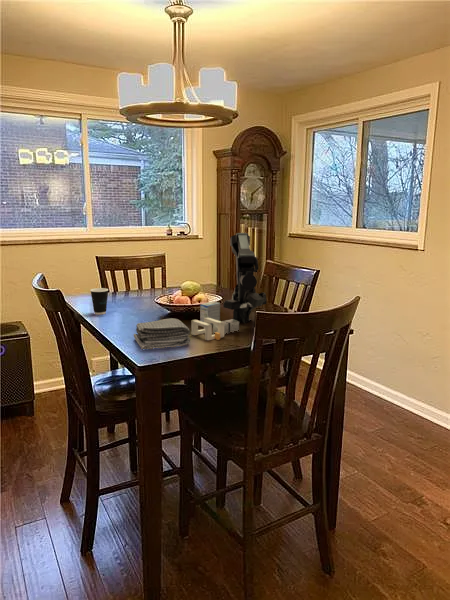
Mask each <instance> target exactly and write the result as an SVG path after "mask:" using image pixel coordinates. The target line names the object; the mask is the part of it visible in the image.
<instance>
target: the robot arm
mask: <svg viewBox="0 0 450 600" xmlns="http://www.w3.org/2000/svg"><path fill="white" fill-rule="evenodd" d="M229 240H230V241H229V245H230V247H231V252H232V253H233V254H234V256H235V267H236V269H235V270H236V285H235V287H234V290H233V293H232V296H231V298H230V299H226V300H224V301H223V308H224V309H228V310H233V312H232V314H233V315H232V317H233V318H232V319H233V320H237V321H239V323H240V322H242V323H243V324H247V323H248V322H251V321H250V320H252V318H250V315H251V312H252V311H253V310H254V309H255V308H257V307H261V306H262V305H263V306H264V305H267V294H266V292H260V293H258V292H257V291H256V288H255V287H257V284H258V280H257V278H256V276H255V275H254V273H258V270H259V260H258V259H257V256H256V255H255V252H254V251H252V250H251V249H250V246H251V236H250V235H249V233H247V232H236V233H235V234H234V235H231V236H230V239H229Z"/></svg>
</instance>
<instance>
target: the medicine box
mask: <svg viewBox="0 0 450 600" xmlns="http://www.w3.org/2000/svg"><path fill="white" fill-rule="evenodd" d="M199 307H200V308H199V309H200V315H199V316H200V320H199V321H202V322H204V318H207V317H209V318H212V319H215V320H218V321H221V303H220V302H217V301H209V302H204V303H200V305H199ZM210 324H211V325H212V326H213V323H210Z"/></svg>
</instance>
